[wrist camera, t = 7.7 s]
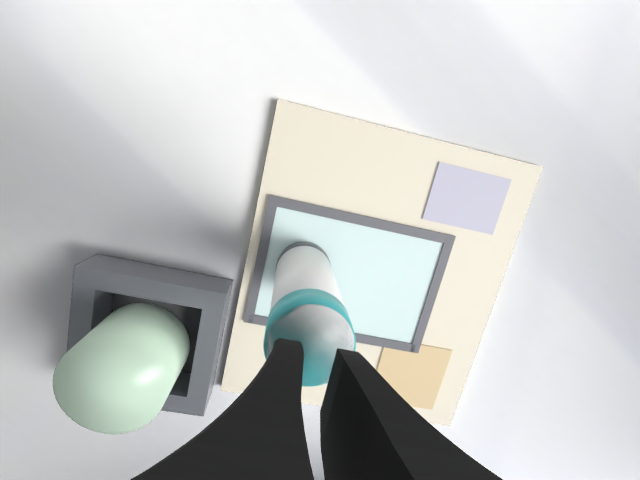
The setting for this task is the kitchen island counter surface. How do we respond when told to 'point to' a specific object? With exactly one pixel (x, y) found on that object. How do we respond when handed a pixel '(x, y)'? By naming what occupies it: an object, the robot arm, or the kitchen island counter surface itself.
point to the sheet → (385, 247)
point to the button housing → (165, 286)
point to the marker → (308, 310)
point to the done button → (122, 369)
